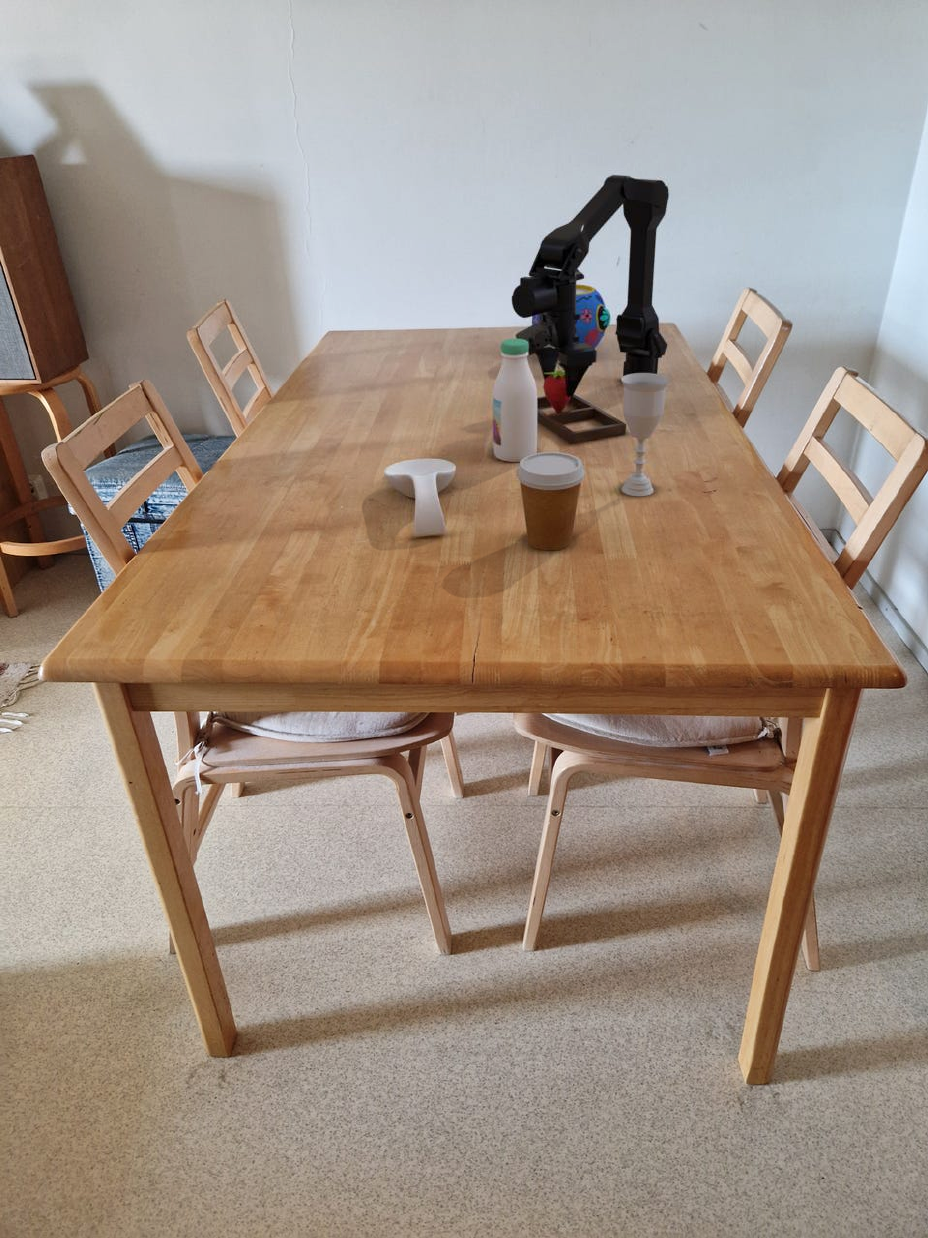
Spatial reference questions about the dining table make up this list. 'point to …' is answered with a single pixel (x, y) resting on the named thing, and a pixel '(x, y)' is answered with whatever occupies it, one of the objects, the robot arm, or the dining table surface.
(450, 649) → the dining table surface
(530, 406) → the milk bottle
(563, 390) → the strawberry
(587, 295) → the ceramic pot
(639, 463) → the chalice
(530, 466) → the disposable coffee cup
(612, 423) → the brown divided wooden frame
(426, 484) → the spoon rest
